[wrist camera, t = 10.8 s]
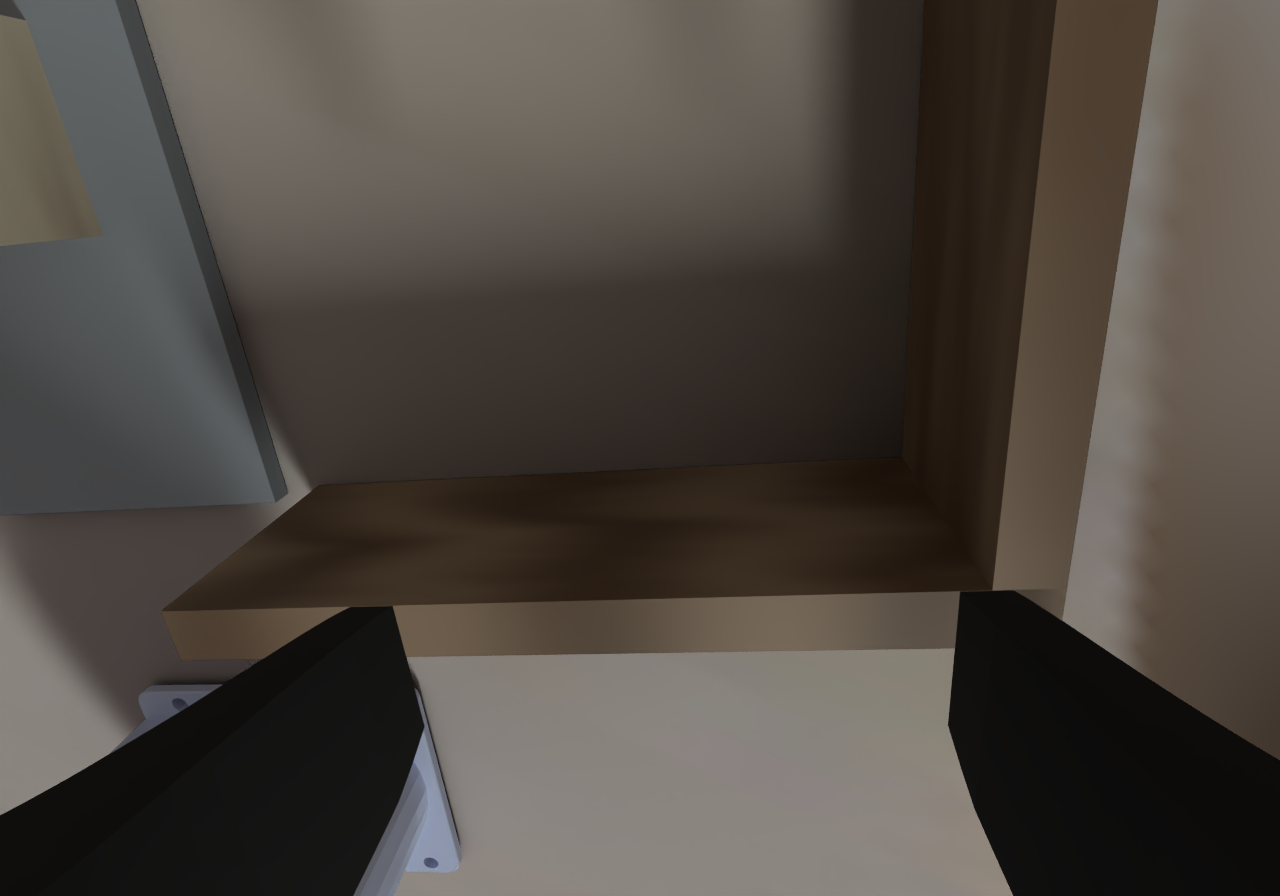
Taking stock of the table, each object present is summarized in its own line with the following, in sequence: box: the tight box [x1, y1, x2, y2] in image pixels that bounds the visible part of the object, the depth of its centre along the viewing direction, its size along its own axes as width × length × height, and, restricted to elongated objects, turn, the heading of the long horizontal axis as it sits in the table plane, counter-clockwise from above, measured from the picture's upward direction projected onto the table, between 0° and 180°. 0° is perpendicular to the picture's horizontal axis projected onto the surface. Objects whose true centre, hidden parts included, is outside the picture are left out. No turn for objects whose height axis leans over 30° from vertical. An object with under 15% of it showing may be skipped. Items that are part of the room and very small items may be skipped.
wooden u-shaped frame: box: [161, 0, 1158, 660], centre depth 12 cm, size 17×21×6 cm
